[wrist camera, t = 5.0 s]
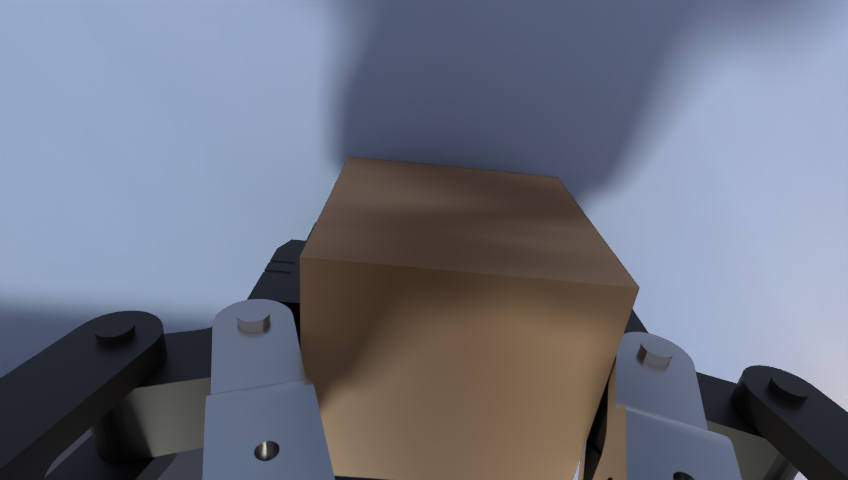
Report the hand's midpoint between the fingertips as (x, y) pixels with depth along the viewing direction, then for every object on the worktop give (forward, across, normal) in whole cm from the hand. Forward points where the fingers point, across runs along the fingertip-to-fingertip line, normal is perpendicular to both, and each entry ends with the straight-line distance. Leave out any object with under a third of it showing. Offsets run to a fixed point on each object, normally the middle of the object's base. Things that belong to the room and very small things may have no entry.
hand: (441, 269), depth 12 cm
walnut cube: (0, 0, 0) cm, 0 cm away
